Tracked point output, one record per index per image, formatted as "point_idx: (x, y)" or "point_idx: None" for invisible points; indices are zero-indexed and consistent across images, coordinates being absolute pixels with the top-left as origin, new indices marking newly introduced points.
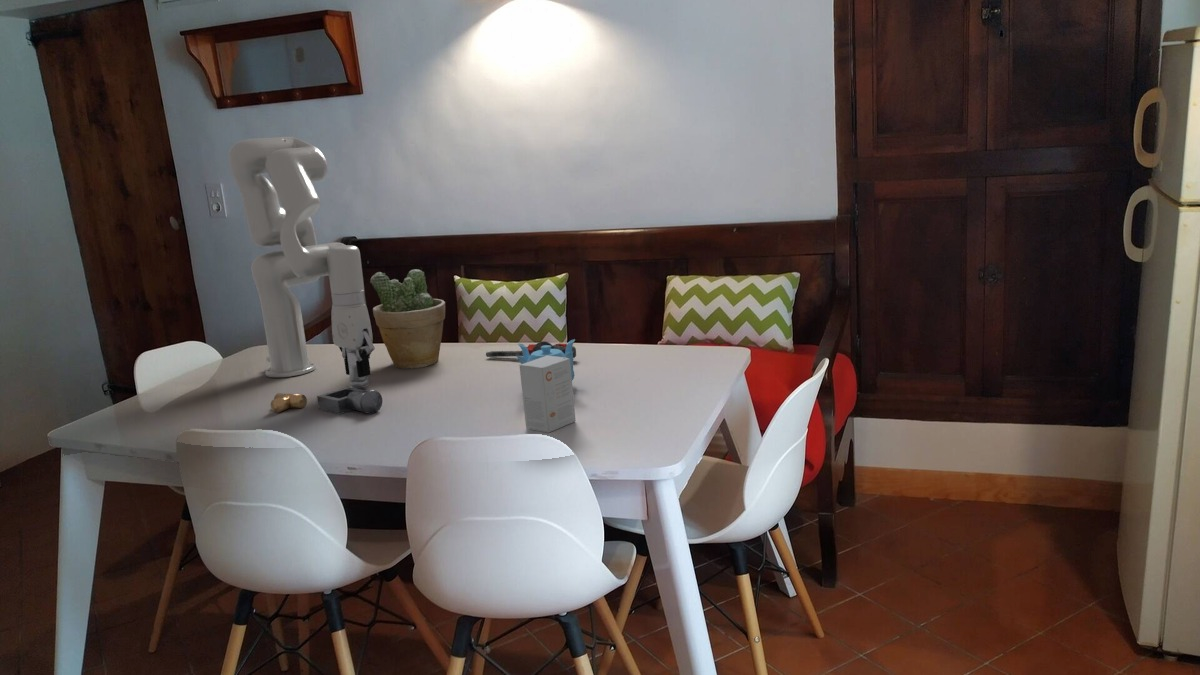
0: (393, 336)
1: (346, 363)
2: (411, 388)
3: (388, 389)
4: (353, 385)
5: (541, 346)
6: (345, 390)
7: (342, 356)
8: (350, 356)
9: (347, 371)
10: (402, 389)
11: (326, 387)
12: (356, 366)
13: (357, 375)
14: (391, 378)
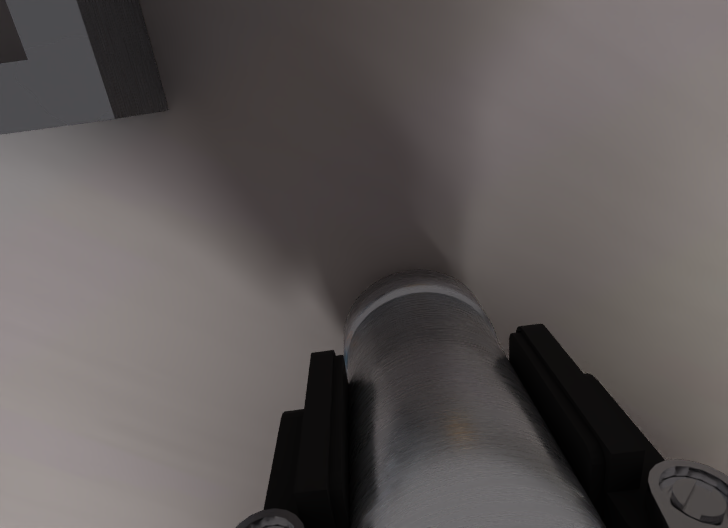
0: None
1: (569, 409)
2: (108, 502)
3: (212, 419)
4: (391, 281)
5: None
6: (36, 50)
7: (722, 475)
8: (439, 525)
9: (528, 346)
10: (131, 466)
11: (721, 185)
12: (366, 431)
13: (363, 360)
14: None
